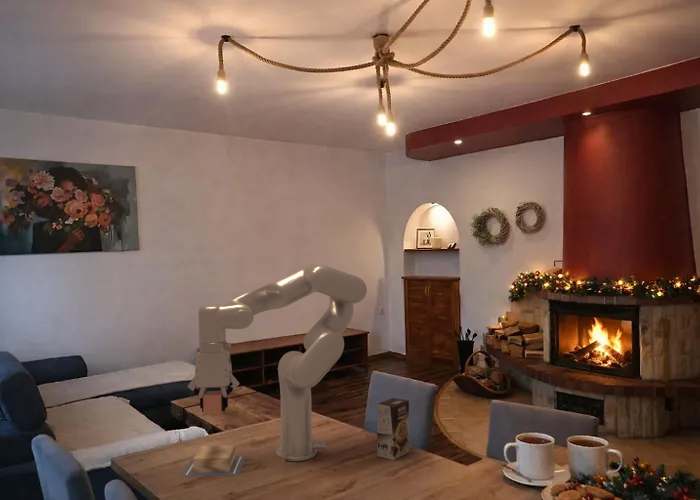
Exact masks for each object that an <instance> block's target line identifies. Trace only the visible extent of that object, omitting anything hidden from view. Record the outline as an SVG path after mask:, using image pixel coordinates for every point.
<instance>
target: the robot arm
mask: <svg viewBox="0 0 700 500" xmlns="http://www.w3.org/2000/svg"><path fill="white" fill-rule="evenodd" d="M367 292H368V288H367V284H366V283H365V281H364V280H363V279H362V278H361V277H359V276H356V275H355V274H351V273H348V272H345V271H341V270H339V269H337V268H334V267H331V266H328V265H325V264H309V265H306V266H303V267H301V268H299V269H297V270H295V271H293V272H291V273H290V274H287V275H286V276H283V277H281V278H279V279H277V280H274V281H273V282H269V283H267V284H265V285H263V286H261V287H257V288H256V289H253V290H250V291H248V292H247V293H244V294H241V295H240V296H238V297H236V298H234V299H232V300H230V301H228V302H226V303H225V304H224V305H221V304H206V305H202V306H200V307H199V308H198V349H199V351H198V352H197V354H196V358H195V369H194V376H193V378H192V379H191V381H190V382H189V383H188V385H187V388H188V389H190V391H192V392H194V394H196V395H197V396H198V398H199V406H200V407H199V408H200V409H201V412H202V413H204V412H203V395H204V394H205V393H206V392H207V389H212V388H215V389H216V388H219V389H221V390H220V391H222V394H223V395H222V411H223V412H225V411H226V409H227V408H228V407H229V399H228V397H229V395H230V394H231V393H232V392H233V391H234V390H235V389H236V388H237V387H238V386H239V385H240V382H239V380H237V378H236V377H235V376H234V375H233V369H232V360H231V355H230V351H229V350H227V349H230V348H232V343H231V342H230V343H229V342H227V340H226V339H227V335H226V334H227V333H226V329H227V330H244V329H247V328H248V327H250V326H251V324H253V321H254V319H255V317H254V316H255V315H258V314H260V313H264V312H267V311H272V310H279V309H282V308H286V307H288V306H290V305H292V304H294V303H296V302H297V301H299V300H302V299H303V298H306V297H307V296H309V295H312V294H314V293H320V294H323V295H325V296H328V297H329V305H328V308H327V310H326V311H325V312H324V314H322V316H321V317H320V318H319V319H318V320H317V321H316V323H314V325H313V326H312V327H311V328H310V329H309V330H308V331H307V333H306V334H305V336H304V337H303V346H304V349H305V352H304V353H303V352H301V351H297V350H292V351H288V352H286V353H284V354H283V355H282V357H281V358H280V360H279V362H278V368H277V372H278V382H279V389H280V390H279V393H280V447H278V448H277V449H276V451H275V454H276V456H278V457H280V458H283V459H284V460H285V461H287V462H301V461H306V460H311V459H312V458H314V457H315V456H316V455H317V454H318V449H320V450H327V442H326V441H325V442H324V441H323V440H315V439H314V436H313V435H312V434H313V433H312V432H313V431H312V430H313V428H312V390H311V389H312V388H313V387H315V386H316V385H318V383H320V382H321V380H322V379H323V378H324V377H325V375H326V374H327V373H329V371H330V369H332V367H333V366H335V364H336V362H338V360H339V359H340V358H341V356H342V354H343V351H344V348H345V341H344V340H345V339H344V337H343V333H344V332H345V331H346V329H348V326H349V325H350V324H351V321H352V319H353V315H354V304H358V303H361V301H363V300H364V299H365V298H366V295H367ZM231 383H232V385H230V384H231ZM285 461H284V462H285Z"/></svg>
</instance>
